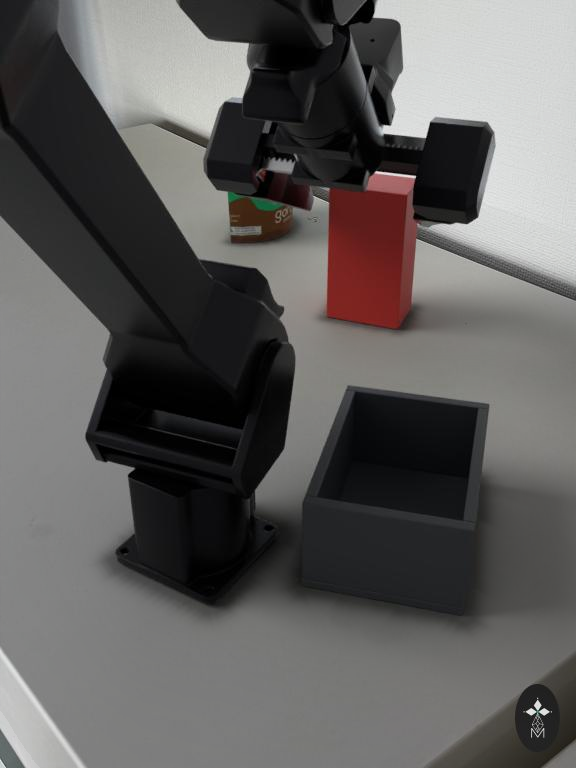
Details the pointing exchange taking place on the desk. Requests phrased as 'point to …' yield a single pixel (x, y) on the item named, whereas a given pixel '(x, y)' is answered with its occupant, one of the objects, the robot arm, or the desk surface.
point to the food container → (257, 219)
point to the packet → (372, 252)
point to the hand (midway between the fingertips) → (367, 212)
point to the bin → (396, 499)
